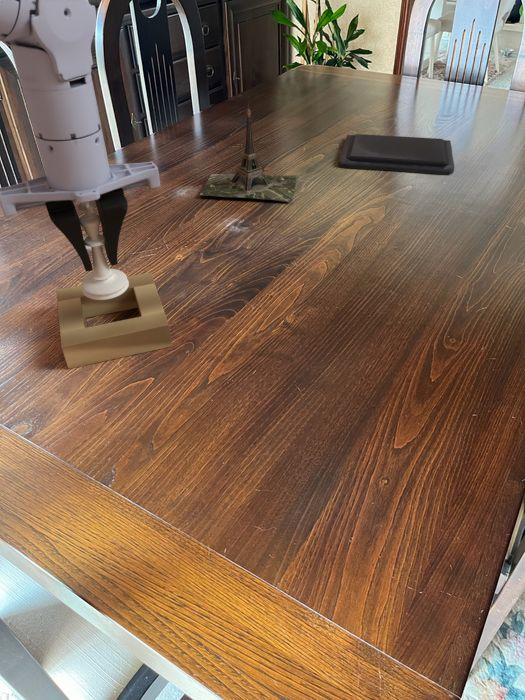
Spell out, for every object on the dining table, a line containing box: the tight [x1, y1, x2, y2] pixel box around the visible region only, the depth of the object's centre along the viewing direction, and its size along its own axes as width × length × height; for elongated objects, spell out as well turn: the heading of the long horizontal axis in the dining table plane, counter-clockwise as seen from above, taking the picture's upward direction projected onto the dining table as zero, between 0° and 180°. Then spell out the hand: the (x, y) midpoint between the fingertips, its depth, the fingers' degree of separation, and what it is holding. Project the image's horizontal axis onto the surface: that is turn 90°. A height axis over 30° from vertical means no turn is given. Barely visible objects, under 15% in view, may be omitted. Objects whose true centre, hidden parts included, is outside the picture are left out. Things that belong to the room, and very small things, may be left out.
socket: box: [55, 271, 173, 370], centre depth 62 cm, size 11×11×3 cm
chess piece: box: [77, 201, 129, 300], centre depth 56 cm, size 5×5×10 cm
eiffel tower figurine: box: [199, 104, 298, 203], centre depth 87 cm, size 15×10×13 cm
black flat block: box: [337, 133, 455, 176], centre depth 101 cm, size 20×2×15 cm
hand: (99, 263), depth 57 cm, fingers closed on chess piece
